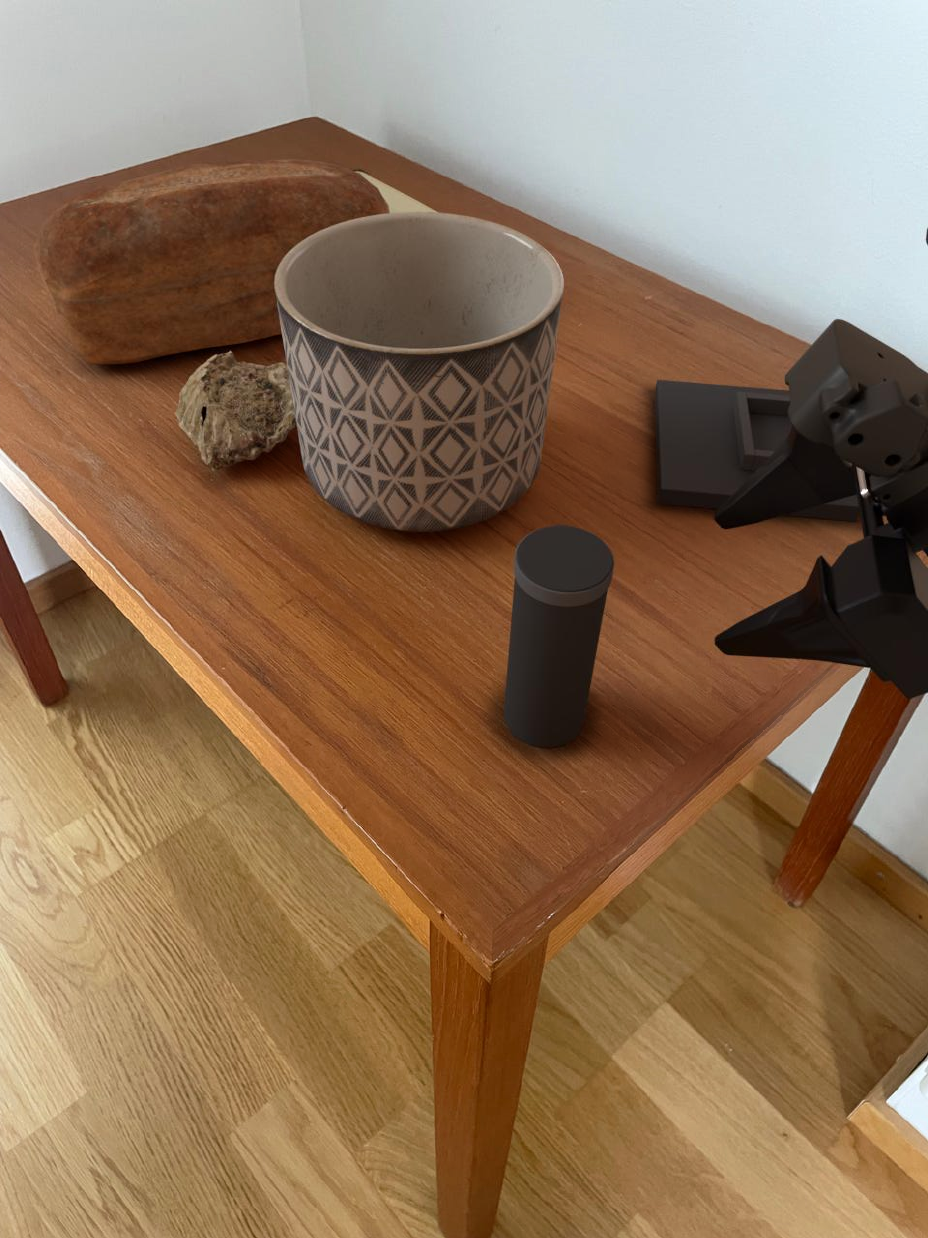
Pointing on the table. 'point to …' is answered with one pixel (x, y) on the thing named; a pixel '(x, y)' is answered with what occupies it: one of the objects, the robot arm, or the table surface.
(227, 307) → the bread
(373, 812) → the table surface
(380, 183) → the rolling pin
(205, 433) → the seashell
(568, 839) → the table surface
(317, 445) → the planter
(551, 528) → the dark grey cylinder
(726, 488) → the base pad
